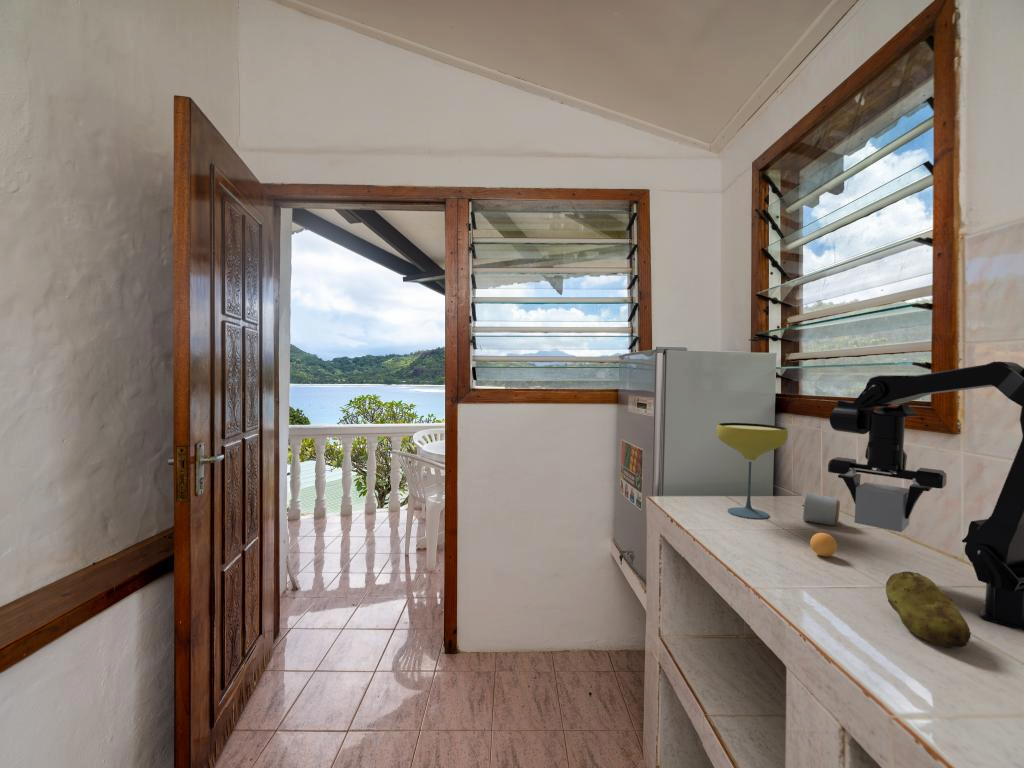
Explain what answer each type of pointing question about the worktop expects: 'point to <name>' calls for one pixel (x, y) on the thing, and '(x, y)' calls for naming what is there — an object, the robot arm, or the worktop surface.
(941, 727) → the worktop surface
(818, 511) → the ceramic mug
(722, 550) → the worktop surface
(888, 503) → the plain gray cube
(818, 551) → the ball
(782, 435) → the cocktail glass
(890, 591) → the potato
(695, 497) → the worktop surface
